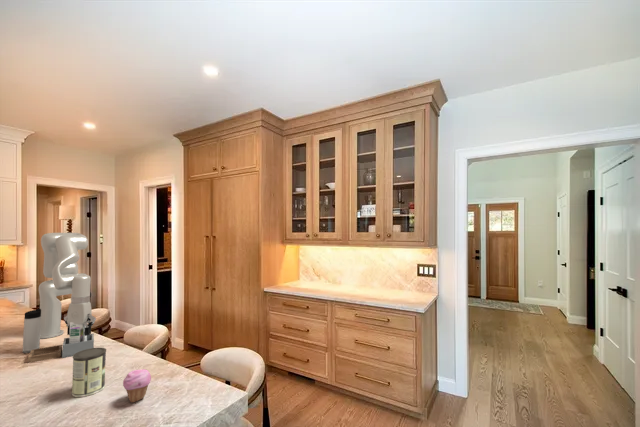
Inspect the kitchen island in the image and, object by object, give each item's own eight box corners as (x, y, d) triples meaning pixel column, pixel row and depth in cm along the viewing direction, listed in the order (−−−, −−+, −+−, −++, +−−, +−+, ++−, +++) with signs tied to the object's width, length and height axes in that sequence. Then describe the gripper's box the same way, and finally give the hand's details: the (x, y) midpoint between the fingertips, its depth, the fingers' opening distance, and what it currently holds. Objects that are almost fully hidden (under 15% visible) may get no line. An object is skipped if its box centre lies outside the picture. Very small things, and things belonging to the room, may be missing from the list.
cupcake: (119, 398, 112) (120, 370, 112) (146, 389, 118) (147, 363, 118) (126, 408, 106) (127, 378, 106) (153, 399, 112) (154, 370, 112)
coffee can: (87, 382, 123) (88, 346, 124) (111, 384, 122) (112, 347, 123) (63, 396, 113) (65, 357, 114) (89, 398, 112) (91, 358, 113)
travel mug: (43, 348, 159) (45, 309, 160) (30, 353, 152) (32, 312, 153) (32, 348, 159) (34, 308, 160) (18, 353, 153) (21, 312, 154)
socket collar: (31, 355, 151) (31, 349, 151) (62, 349, 157) (62, 344, 158) (27, 363, 141) (27, 357, 141) (60, 357, 148) (60, 351, 148)
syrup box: (68, 352, 152) (69, 322, 153) (73, 348, 157) (75, 319, 158) (81, 351, 153) (82, 321, 154) (87, 346, 159) (88, 318, 160)
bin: (63, 350, 156) (64, 338, 157) (93, 345, 164) (93, 333, 164) (62, 358, 147) (62, 345, 147) (93, 352, 154) (93, 340, 154)
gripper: (58, 301, 154) (56, 336, 153) (89, 302, 152) (87, 337, 151) (72, 297, 162) (71, 331, 161) (102, 299, 159) (100, 332, 158)
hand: (79, 334), depth 156 cm, fingers open, 9 cm apart
